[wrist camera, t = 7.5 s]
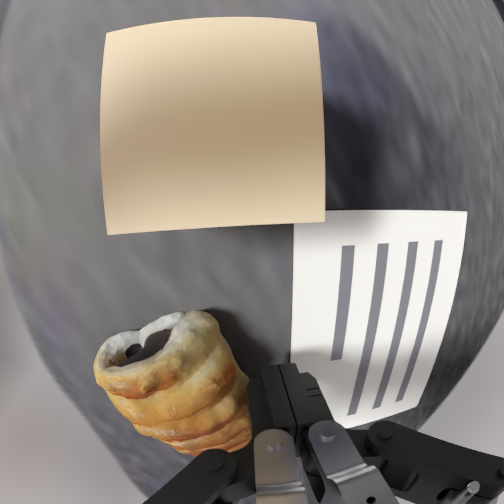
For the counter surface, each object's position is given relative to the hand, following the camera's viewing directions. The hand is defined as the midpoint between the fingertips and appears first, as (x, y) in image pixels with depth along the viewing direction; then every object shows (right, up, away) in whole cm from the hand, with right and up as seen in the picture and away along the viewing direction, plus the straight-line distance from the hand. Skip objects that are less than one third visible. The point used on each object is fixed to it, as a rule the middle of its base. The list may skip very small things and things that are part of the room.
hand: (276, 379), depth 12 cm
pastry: (-4, -1, +2) cm, 5 cm away
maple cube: (-2, +10, -1) cm, 10 cm away
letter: (+6, +1, +2) cm, 6 cm away
